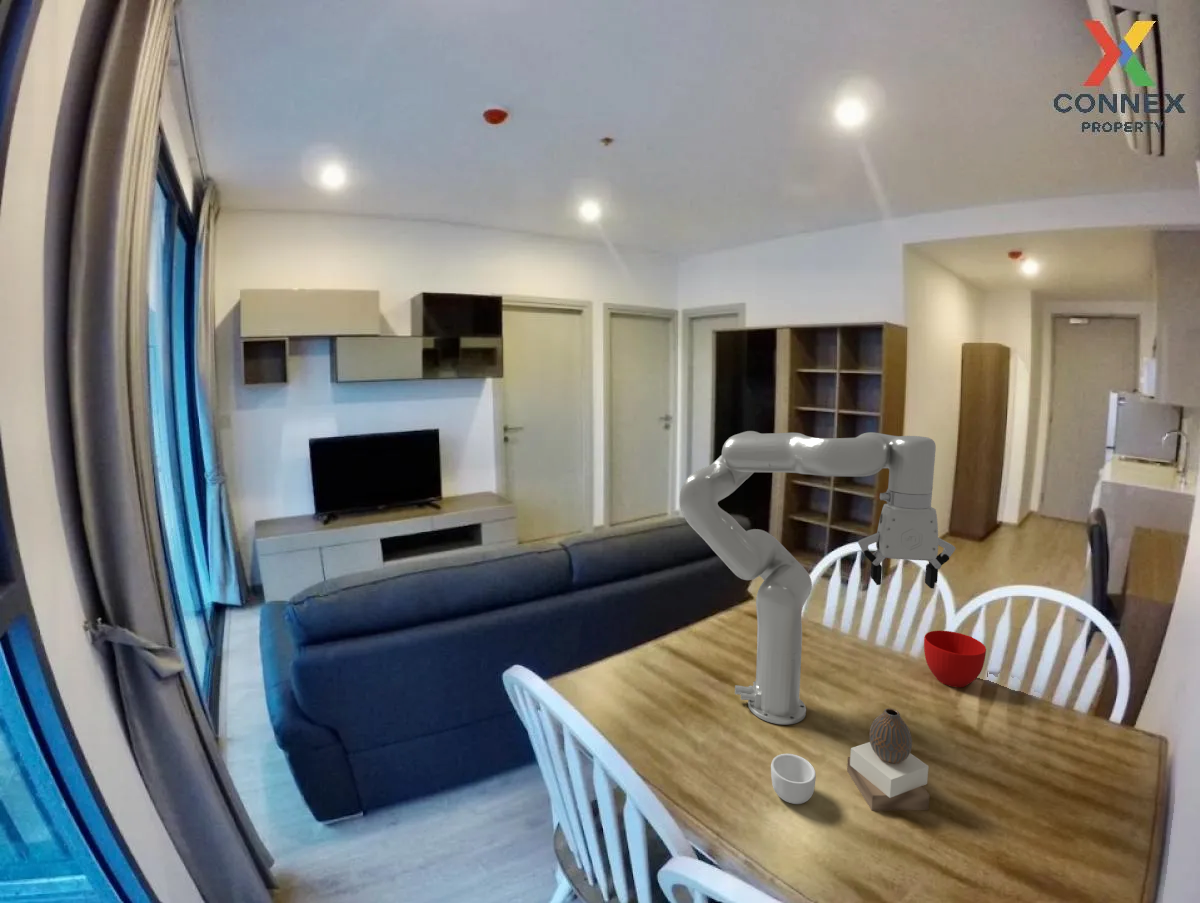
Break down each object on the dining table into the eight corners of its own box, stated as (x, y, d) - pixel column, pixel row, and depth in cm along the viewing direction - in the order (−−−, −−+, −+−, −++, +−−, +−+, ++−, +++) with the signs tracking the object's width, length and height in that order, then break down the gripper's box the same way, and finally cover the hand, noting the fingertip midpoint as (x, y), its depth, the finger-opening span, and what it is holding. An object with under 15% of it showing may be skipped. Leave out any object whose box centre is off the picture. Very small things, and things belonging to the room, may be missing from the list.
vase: (861, 745, 108) (863, 702, 107) (896, 743, 109) (898, 700, 108) (881, 770, 101) (884, 724, 100) (919, 768, 102) (922, 722, 101)
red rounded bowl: (997, 677, 143) (1001, 639, 142) (969, 701, 133) (973, 661, 132) (941, 657, 154) (944, 621, 152) (911, 677, 144) (914, 640, 142)
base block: (871, 813, 101) (872, 795, 100) (846, 773, 111) (847, 756, 110) (928, 812, 101) (929, 794, 100) (898, 772, 111) (899, 756, 110)
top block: (889, 797, 100) (891, 779, 99) (849, 765, 108) (850, 748, 108) (927, 783, 103) (928, 766, 103) (885, 752, 111) (886, 736, 111)
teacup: (817, 814, 100) (819, 786, 99) (771, 807, 102) (773, 780, 101) (808, 774, 110) (810, 748, 109) (767, 769, 111) (768, 743, 111)
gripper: (866, 502, 109) (860, 588, 112) (966, 506, 106) (958, 594, 109) (856, 494, 117) (852, 574, 119) (950, 497, 113) (943, 580, 116)
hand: (902, 584), depth 114 cm, fingers open, 9 cm apart
